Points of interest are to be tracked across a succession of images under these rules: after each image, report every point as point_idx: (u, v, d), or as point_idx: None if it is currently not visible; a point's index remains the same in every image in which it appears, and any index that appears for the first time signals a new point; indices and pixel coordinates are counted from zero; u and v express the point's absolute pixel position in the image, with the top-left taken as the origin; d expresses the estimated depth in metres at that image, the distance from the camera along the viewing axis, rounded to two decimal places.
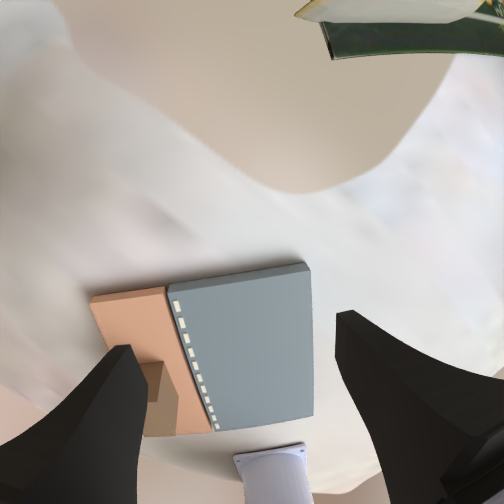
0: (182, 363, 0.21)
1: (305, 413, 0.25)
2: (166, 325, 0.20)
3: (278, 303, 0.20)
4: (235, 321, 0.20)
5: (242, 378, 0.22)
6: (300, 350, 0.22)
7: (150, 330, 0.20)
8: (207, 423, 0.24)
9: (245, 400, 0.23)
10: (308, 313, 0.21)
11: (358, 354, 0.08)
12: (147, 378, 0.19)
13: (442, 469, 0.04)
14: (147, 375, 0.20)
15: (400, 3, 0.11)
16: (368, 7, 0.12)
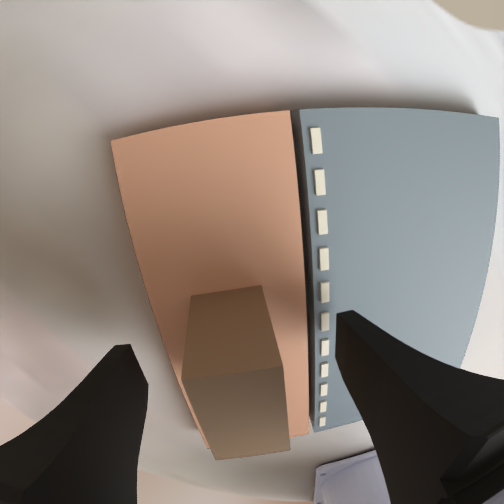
0: (299, 288, 0.11)
1: None
2: (285, 189, 0.09)
3: (467, 162, 0.10)
4: (411, 188, 0.10)
5: (394, 319, 0.12)
6: (477, 261, 0.11)
7: (246, 202, 0.09)
8: (307, 419, 0.14)
9: None
10: (494, 191, 0.10)
11: (358, 354, 0.08)
12: (233, 318, 0.09)
13: (442, 469, 0.04)
14: (232, 312, 0.09)
15: None
16: None
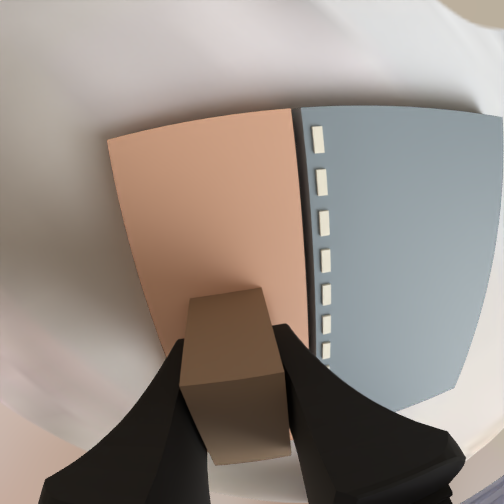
0: (300, 291, 0.11)
1: (448, 384, 0.14)
2: (286, 189, 0.09)
3: (471, 162, 0.09)
4: (414, 188, 0.10)
5: (397, 321, 0.12)
6: (480, 262, 0.11)
7: (246, 203, 0.09)
8: None
9: (385, 368, 0.13)
10: (498, 191, 0.10)
11: None
12: (233, 322, 0.09)
13: None
14: (232, 315, 0.09)
15: None
16: None
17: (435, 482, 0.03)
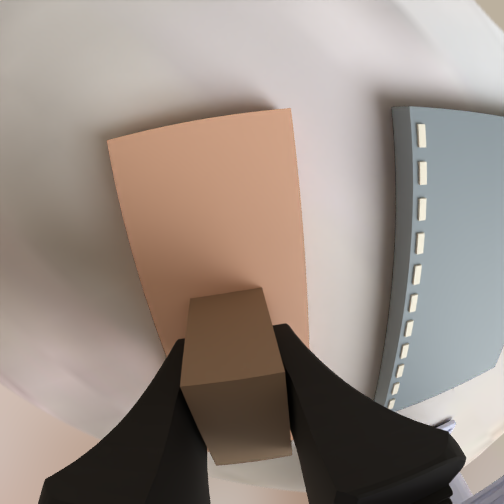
0: (301, 291, 0.11)
1: (491, 363, 0.14)
2: (286, 189, 0.09)
3: None
4: (484, 182, 0.10)
5: (463, 300, 0.12)
6: None
7: (246, 203, 0.09)
8: None
9: (449, 346, 0.13)
10: None
11: None
12: (234, 322, 0.09)
13: None
14: (232, 315, 0.09)
15: None
16: None
17: (436, 482, 0.03)
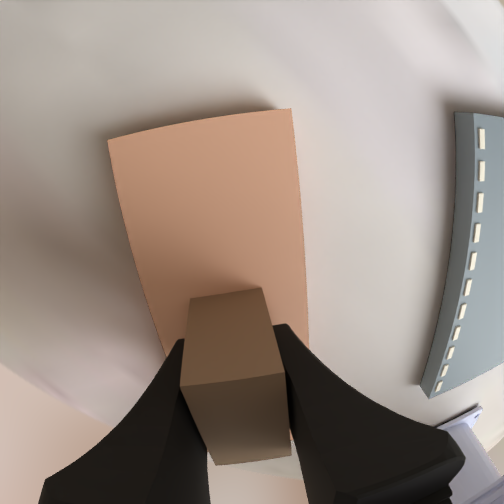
0: (300, 291, 0.11)
1: None
2: (286, 189, 0.09)
3: None
4: None
5: (503, 286, 0.12)
6: None
7: (246, 203, 0.09)
8: None
9: (489, 329, 0.13)
10: None
11: None
12: (234, 322, 0.09)
13: None
14: (232, 315, 0.09)
15: None
16: None
17: (435, 482, 0.03)
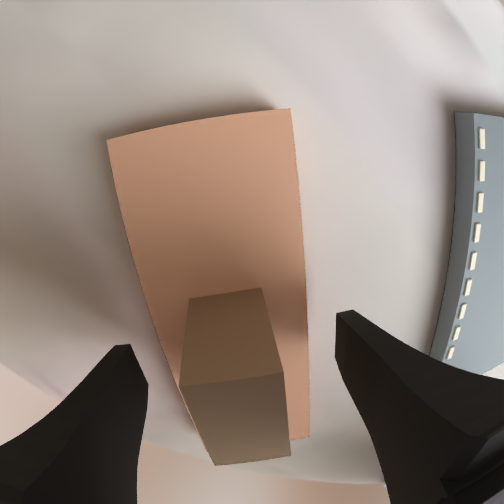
0: (300, 291, 0.11)
1: None
2: (285, 189, 0.09)
3: None
4: None
5: (503, 286, 0.12)
6: None
7: (245, 203, 0.09)
8: (307, 422, 0.14)
9: (489, 329, 0.13)
10: None
11: (358, 354, 0.08)
12: (233, 322, 0.09)
13: (442, 469, 0.04)
14: (231, 316, 0.09)
15: None
16: None
17: None
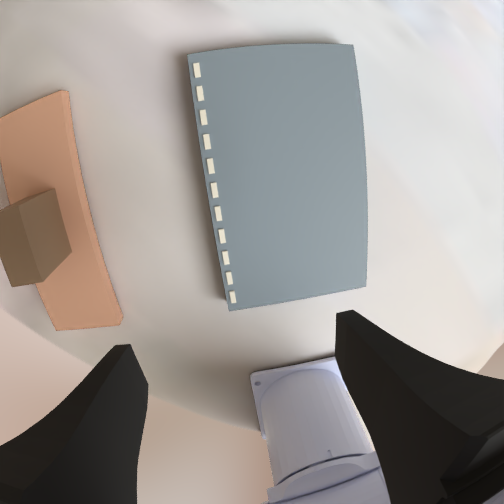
0: (74, 189, 0.15)
1: (356, 279, 0.19)
2: (60, 131, 0.14)
3: (320, 76, 0.14)
4: (268, 94, 0.15)
5: (274, 195, 0.17)
6: (350, 153, 0.16)
7: (44, 142, 0.14)
8: (111, 307, 0.18)
9: (276, 241, 0.18)
10: (356, 98, 0.15)
11: (358, 354, 0.08)
12: (27, 199, 0.13)
13: (442, 469, 0.04)
14: (29, 197, 0.14)
15: None
16: None
17: None
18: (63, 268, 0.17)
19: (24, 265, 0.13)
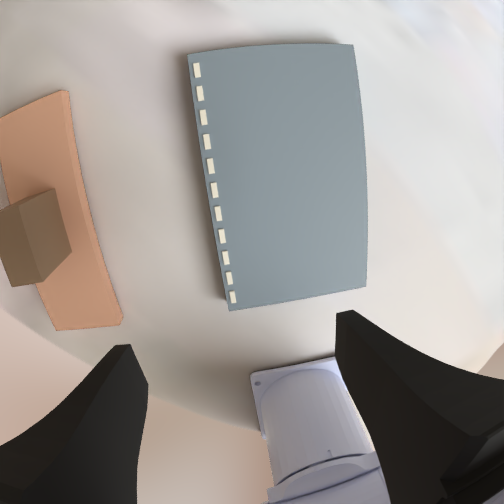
0: (74, 189, 0.15)
1: (356, 279, 0.19)
2: (60, 131, 0.14)
3: (320, 76, 0.14)
4: (268, 94, 0.15)
5: (274, 195, 0.17)
6: (350, 153, 0.16)
7: (44, 142, 0.14)
8: (111, 307, 0.18)
9: (276, 241, 0.18)
10: (356, 98, 0.15)
11: (358, 354, 0.08)
12: (27, 199, 0.13)
13: (442, 469, 0.04)
14: (29, 197, 0.14)
15: None
16: None
17: None
18: (63, 268, 0.17)
19: (24, 265, 0.13)
